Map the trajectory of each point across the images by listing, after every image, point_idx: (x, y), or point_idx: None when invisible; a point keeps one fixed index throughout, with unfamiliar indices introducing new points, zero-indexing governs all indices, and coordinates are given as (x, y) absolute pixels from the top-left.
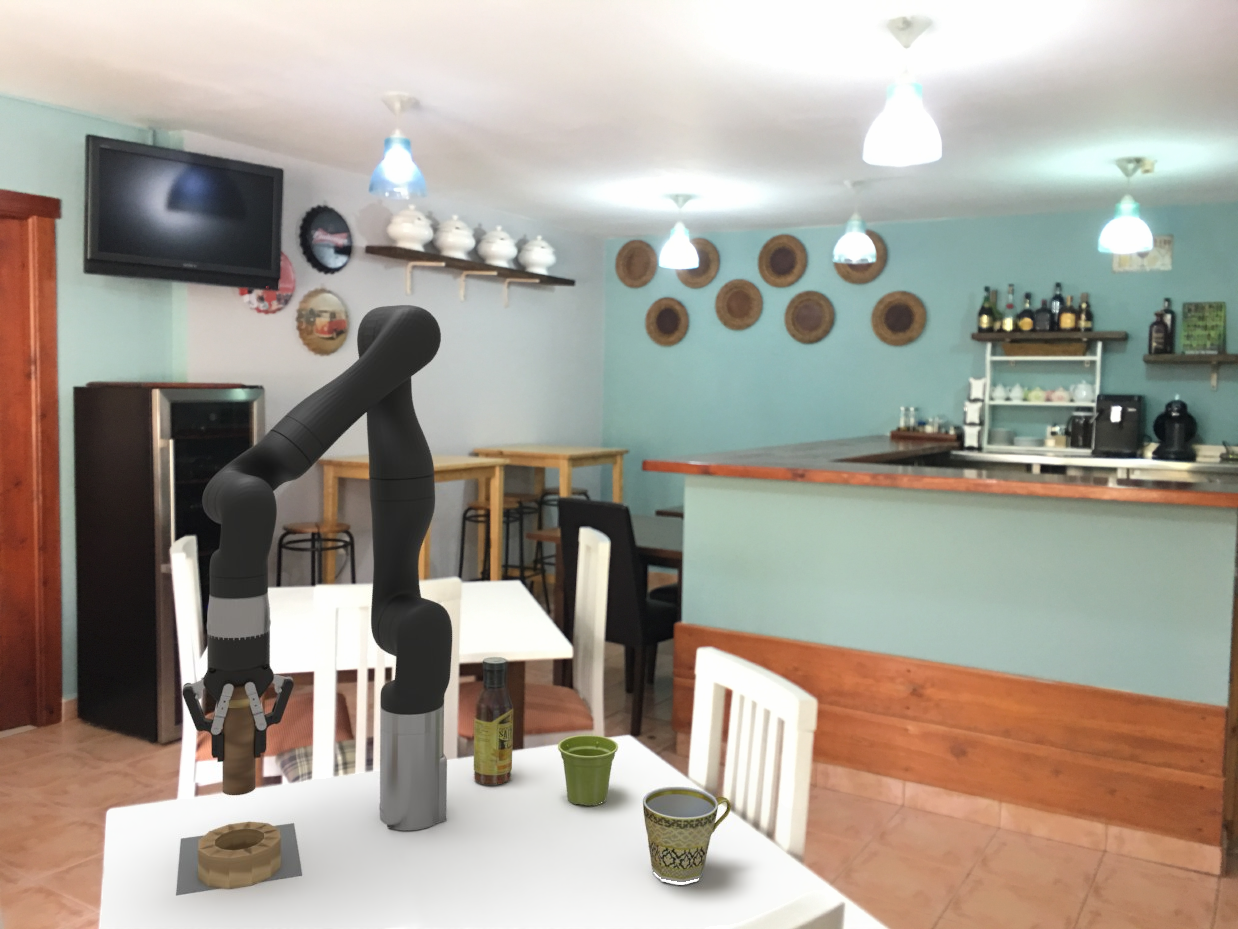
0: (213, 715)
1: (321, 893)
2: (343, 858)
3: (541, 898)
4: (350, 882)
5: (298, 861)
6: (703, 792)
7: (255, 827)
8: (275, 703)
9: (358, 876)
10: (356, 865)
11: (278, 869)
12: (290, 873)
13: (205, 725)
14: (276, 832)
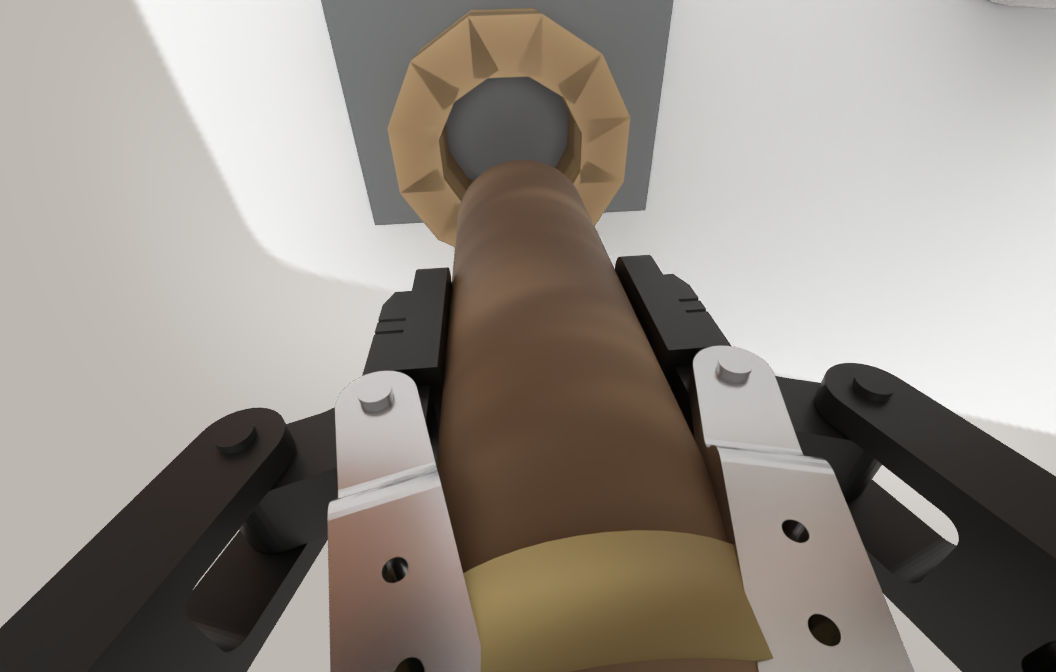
0: (338, 466)
1: (665, 271)
2: (758, 125)
3: (967, 364)
4: (729, 244)
5: (651, 136)
6: None
7: (559, 79)
8: (935, 499)
9: (753, 224)
10: (770, 173)
11: None
12: (622, 194)
13: (326, 538)
14: (618, 138)
